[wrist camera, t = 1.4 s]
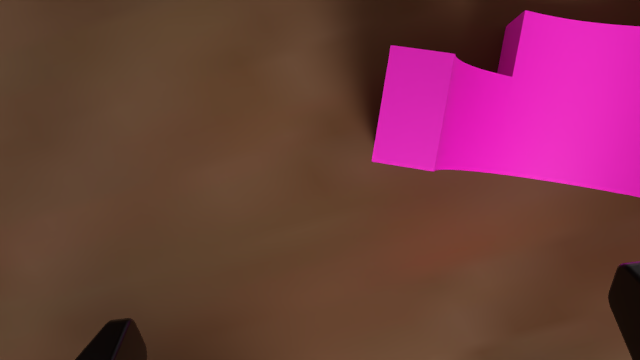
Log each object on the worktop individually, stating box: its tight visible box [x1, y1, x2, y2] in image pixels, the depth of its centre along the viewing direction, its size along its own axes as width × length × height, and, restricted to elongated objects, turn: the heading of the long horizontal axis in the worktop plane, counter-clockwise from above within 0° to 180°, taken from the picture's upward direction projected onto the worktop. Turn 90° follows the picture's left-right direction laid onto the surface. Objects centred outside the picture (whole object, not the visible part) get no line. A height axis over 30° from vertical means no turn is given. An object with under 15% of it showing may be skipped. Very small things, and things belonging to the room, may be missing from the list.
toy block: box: [372, 10, 640, 197], centre depth 20 cm, size 15×6×8 cm, turn 82°
